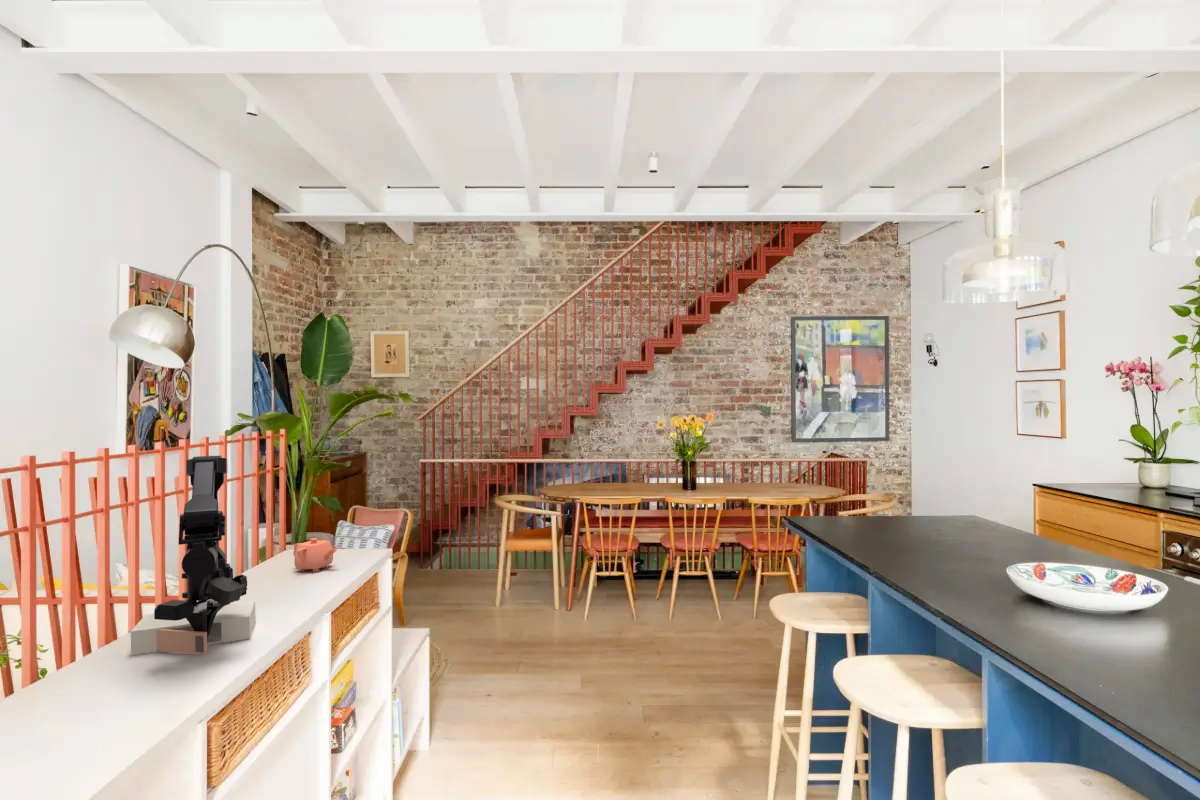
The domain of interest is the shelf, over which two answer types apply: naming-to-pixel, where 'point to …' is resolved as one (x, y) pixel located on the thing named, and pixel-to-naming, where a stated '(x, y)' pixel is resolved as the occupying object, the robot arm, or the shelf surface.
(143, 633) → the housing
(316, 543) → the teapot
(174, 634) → the side door
